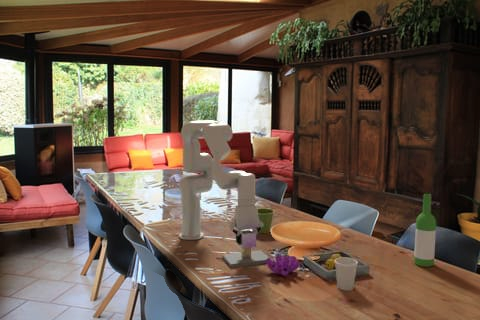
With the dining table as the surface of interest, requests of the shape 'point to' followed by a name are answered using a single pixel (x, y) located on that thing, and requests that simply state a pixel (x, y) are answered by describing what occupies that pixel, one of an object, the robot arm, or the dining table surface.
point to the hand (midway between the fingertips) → (246, 242)
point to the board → (245, 258)
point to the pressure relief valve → (332, 261)
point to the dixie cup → (345, 272)
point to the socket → (248, 238)
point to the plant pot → (265, 219)
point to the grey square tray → (331, 274)
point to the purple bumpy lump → (283, 264)
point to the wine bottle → (425, 235)
